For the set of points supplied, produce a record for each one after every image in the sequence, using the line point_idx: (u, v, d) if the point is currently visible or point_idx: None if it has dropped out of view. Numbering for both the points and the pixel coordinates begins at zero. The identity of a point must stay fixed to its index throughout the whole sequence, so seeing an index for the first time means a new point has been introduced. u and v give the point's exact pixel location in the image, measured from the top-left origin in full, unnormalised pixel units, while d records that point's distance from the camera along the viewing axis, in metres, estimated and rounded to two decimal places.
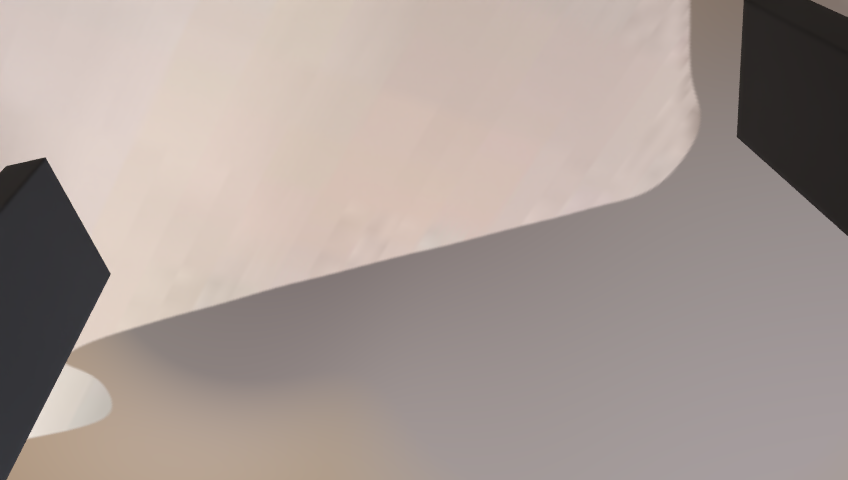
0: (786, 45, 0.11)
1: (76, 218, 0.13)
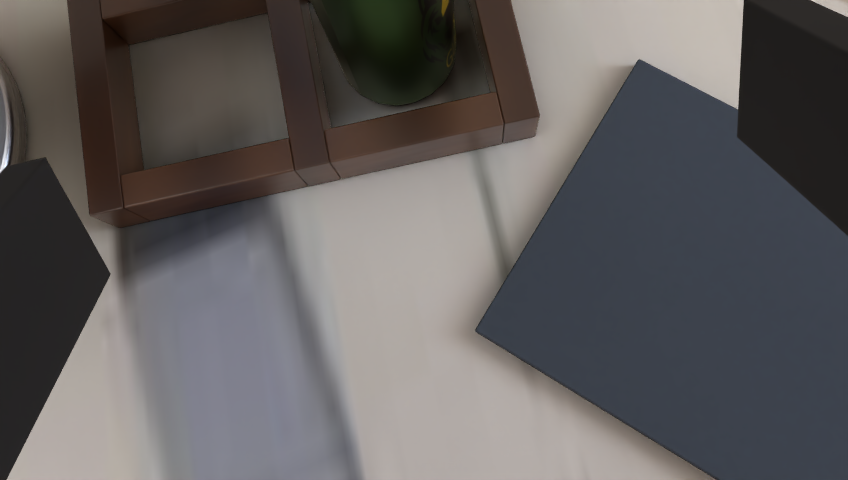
0: (786, 45, 0.11)
1: (76, 218, 0.13)
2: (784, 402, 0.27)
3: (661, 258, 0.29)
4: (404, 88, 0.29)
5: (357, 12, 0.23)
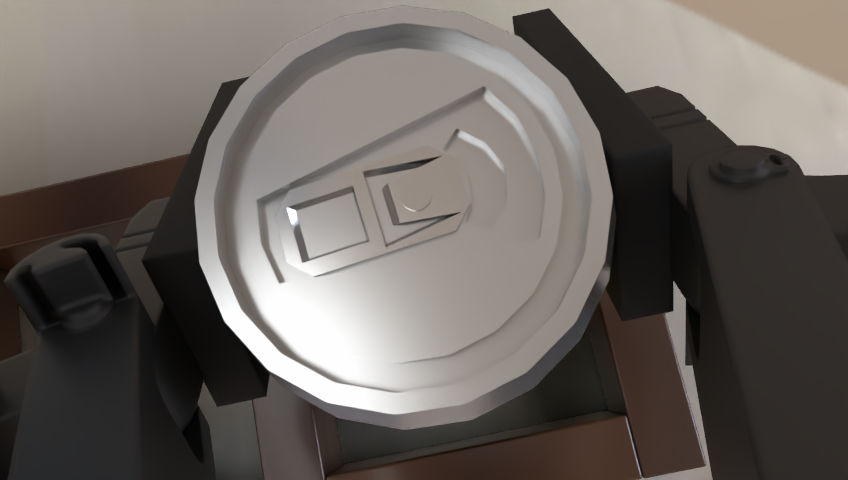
0: None
1: None
2: None
3: None
4: None
5: None
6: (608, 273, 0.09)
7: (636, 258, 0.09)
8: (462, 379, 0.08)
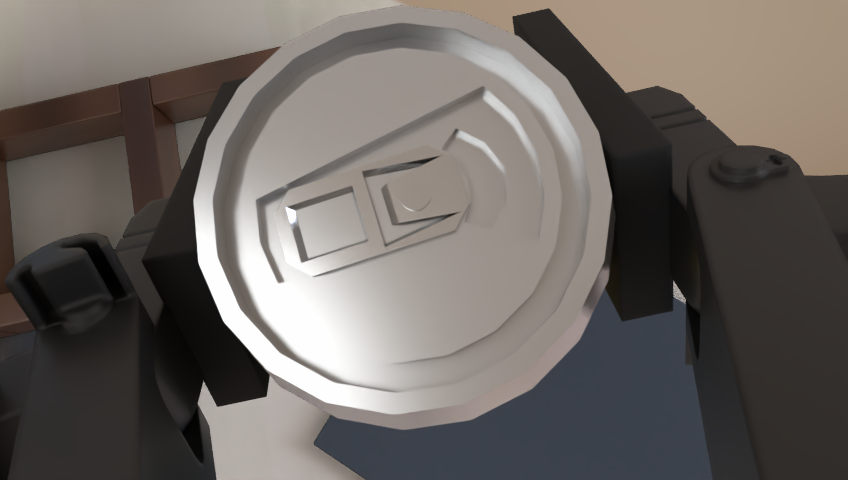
0: None
1: None
2: None
3: None
4: None
5: None
6: (607, 273, 0.09)
7: (636, 258, 0.09)
8: (461, 379, 0.08)
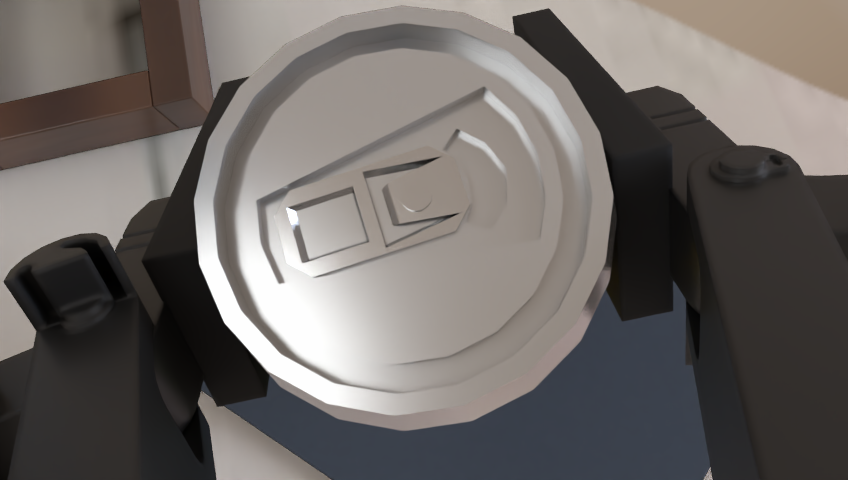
0: None
1: None
2: None
3: None
4: None
5: None
6: (608, 274, 0.09)
7: (636, 258, 0.09)
8: (462, 380, 0.08)
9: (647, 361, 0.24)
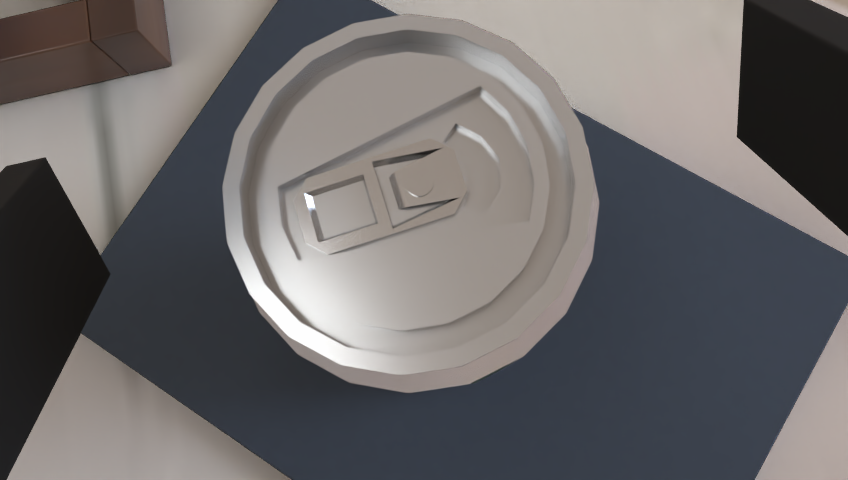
0: (786, 45, 0.11)
1: (77, 218, 0.13)
2: (444, 414, 0.20)
3: None
4: None
5: None
6: (591, 253, 0.10)
7: None
8: (460, 345, 0.09)
9: (681, 344, 0.20)
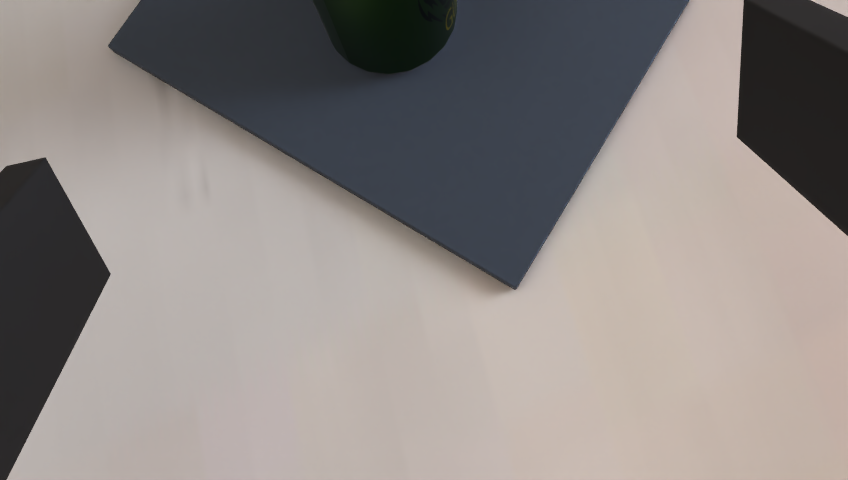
0: (786, 45, 0.11)
1: (76, 218, 0.13)
2: (389, 100, 0.28)
3: None
4: (397, 52, 0.26)
5: None
6: None
7: None
8: None
9: (559, 47, 0.28)
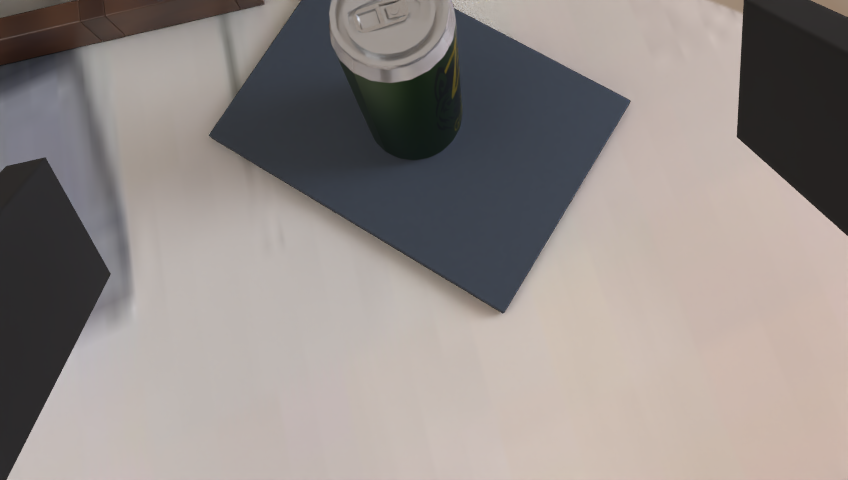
0: (786, 46, 0.11)
1: (76, 218, 0.13)
2: (414, 177, 0.39)
3: (340, 83, 0.41)
4: (421, 149, 0.37)
5: (389, 103, 0.31)
6: (452, 37, 0.29)
7: None
8: None
9: (535, 140, 0.39)
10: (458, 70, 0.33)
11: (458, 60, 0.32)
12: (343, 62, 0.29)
